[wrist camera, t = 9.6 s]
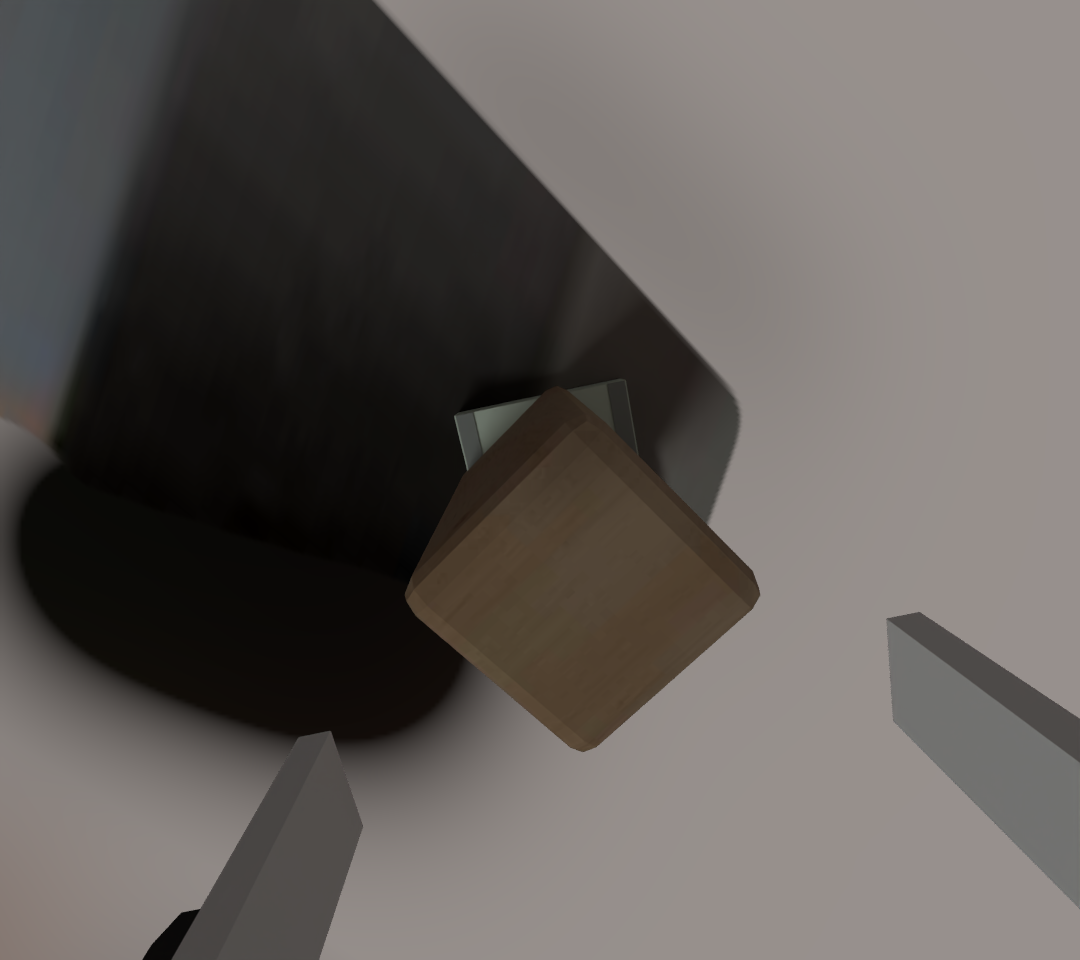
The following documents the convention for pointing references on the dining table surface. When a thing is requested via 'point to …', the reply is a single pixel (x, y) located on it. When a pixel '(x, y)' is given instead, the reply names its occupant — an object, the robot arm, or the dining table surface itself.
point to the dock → (495, 420)
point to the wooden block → (575, 573)
